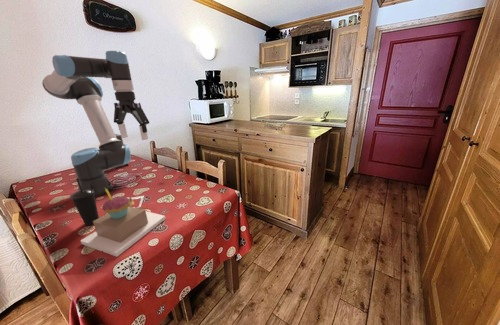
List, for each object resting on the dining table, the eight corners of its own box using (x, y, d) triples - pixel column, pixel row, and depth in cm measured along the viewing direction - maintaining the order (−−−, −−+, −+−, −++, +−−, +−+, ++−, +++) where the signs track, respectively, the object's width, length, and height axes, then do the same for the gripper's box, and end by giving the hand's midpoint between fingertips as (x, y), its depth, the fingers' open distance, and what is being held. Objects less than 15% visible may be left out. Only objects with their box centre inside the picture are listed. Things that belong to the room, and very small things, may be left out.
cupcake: (104, 224, 71) (94, 194, 67) (107, 212, 78) (99, 184, 74) (132, 217, 74) (124, 188, 70) (133, 206, 81) (126, 179, 77)
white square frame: (118, 201, 102) (116, 193, 100) (144, 197, 105) (142, 189, 104) (111, 214, 91) (108, 205, 90) (141, 209, 95) (139, 200, 93)
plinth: (81, 243, 73) (75, 226, 70) (134, 211, 92) (130, 196, 90) (117, 256, 67) (111, 238, 64) (165, 218, 86) (162, 203, 83)
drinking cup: (88, 217, 88) (74, 175, 82) (107, 216, 89) (93, 174, 82) (76, 228, 81) (58, 183, 75) (96, 227, 82) (80, 182, 75)
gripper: (97, 91, 91) (109, 138, 98) (137, 90, 81) (147, 142, 89) (113, 91, 97) (123, 135, 104) (152, 90, 88) (160, 138, 95)
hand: (134, 138), depth 96 cm, fingers open, 13 cm apart
